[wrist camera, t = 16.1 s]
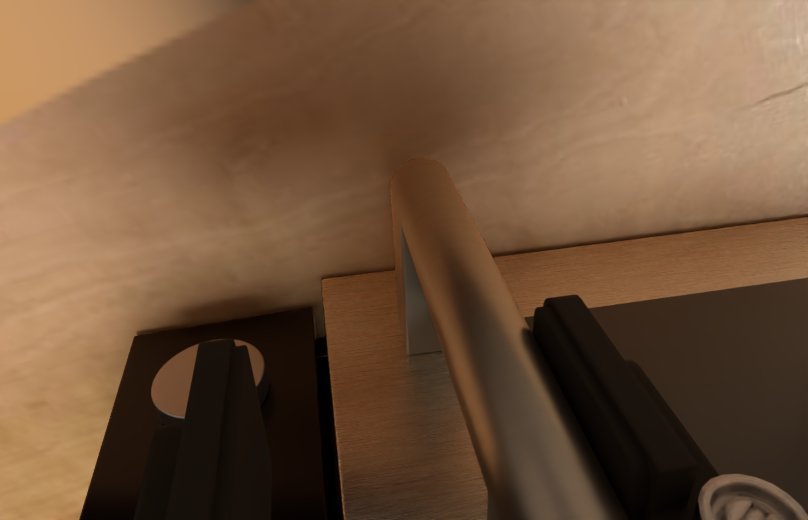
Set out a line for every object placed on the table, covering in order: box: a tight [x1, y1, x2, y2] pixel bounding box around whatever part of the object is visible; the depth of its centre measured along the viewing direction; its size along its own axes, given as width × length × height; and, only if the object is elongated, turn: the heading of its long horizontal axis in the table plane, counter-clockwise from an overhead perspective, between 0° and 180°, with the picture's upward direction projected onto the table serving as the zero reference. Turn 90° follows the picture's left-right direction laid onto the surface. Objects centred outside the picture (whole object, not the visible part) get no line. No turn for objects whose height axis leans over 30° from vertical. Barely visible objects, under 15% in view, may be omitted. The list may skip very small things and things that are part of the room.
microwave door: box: [321, 158, 808, 520], centre depth 14 cm, size 7×20×17 cm, turn 93°
